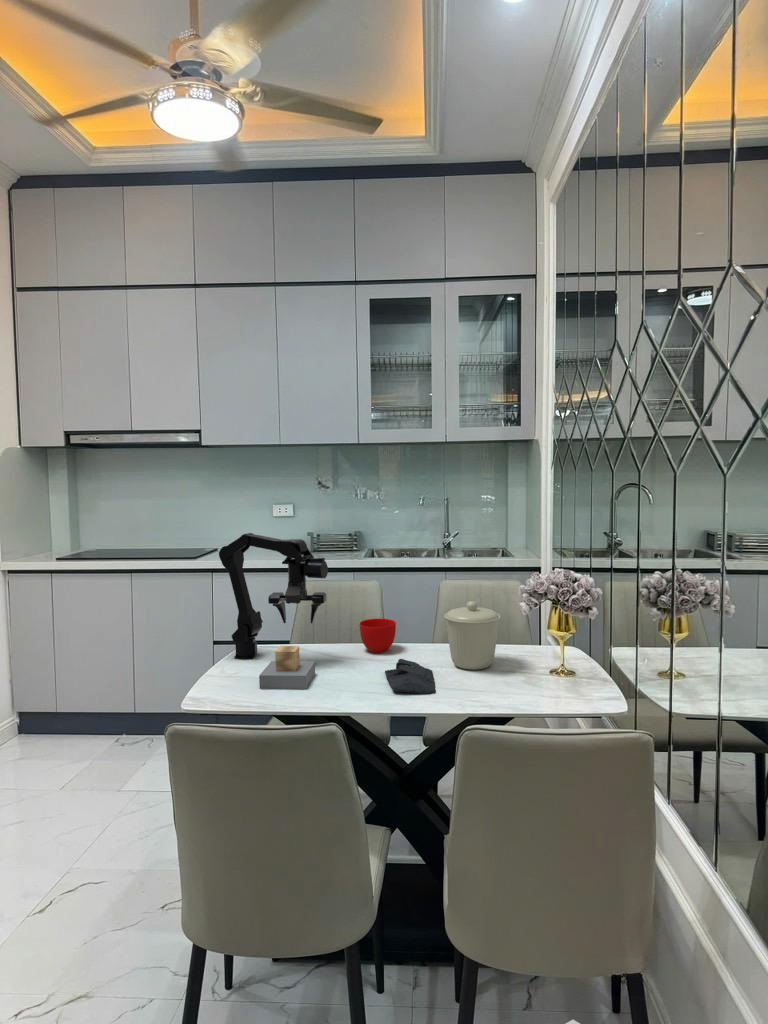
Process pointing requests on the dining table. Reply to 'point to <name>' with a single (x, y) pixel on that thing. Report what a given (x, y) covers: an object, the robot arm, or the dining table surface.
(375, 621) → the ceramic cup
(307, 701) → the dining table surface
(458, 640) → the canister
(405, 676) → the dark slate chunk
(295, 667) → the oak block
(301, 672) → the slate pedestal
